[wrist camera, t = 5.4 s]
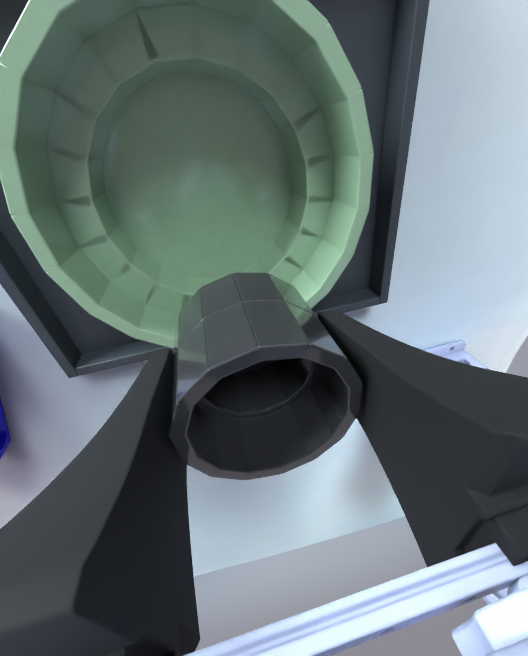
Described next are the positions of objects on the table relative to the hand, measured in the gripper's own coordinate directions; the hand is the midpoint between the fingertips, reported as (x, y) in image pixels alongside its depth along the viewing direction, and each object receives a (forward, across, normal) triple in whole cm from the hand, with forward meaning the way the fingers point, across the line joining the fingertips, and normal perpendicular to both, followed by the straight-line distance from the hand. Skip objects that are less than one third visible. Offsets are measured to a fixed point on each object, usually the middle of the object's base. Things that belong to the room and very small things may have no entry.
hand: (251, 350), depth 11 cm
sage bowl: (+9, 0, -4) cm, 10 cm away
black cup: (+2, 0, 0) cm, 2 cm away
